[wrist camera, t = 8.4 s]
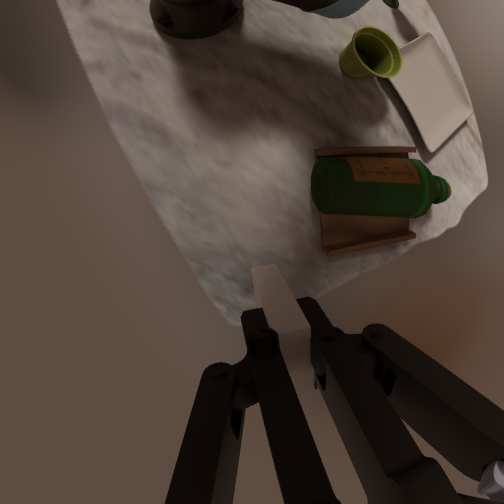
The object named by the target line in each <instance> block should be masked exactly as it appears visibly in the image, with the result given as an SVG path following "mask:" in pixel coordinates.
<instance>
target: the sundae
mask: <svg viewBox="0 0 504 504" xmlns="http://www.w3.org/2000/svg"><path fill="white" fill-rule="evenodd" d="M383 1H384V2H385V3H386V4H387V5H388V6H390V7H392V8H398V7H399V2H398V0H383Z"/></svg>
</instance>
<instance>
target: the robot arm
mask: <svg viewBox="0 0 504 504" xmlns="http://www.w3.org/2000/svg"><path fill="white" fill-rule="evenodd" d="M273 1H277V2H280V3H284V4H287V5H291V6H294V7H297V8H300V9H301V10H302V11H304V12H308V13H315V14H318V15H321V16H324V17H327V18H336V19H337V18H344V17H347V16H349V15H351V14H353V13H355V12H356V11H358V10H359V9H360V8H361V7H363V6H364V5H365V4H366V3H367V2H368V1H369V0H273ZM242 3H243V0H151V1H150V14H151V17H152V20H153V22H154V24H155V25H156V26H157V28H158V29H159V30H161V31H162V32H164V33H165V34H167V35H170V36H172V37H176V38H181V39H199V38H205V37H209V36H212V35H215V34H217V33H219V32H221V31H223V30H225V29H226V28H228V27H229V26H230V25H231V24H233V22H234V21H235V20H236V19H237V17H238V16H239V14H240V11H241V7H242ZM251 273H252V280H253V286H254V292H255V298H256V305H257V309H252V310H247V311H243V313H242V316H241V322H242V327H243V331H244V336H245V341H246V345H247V354H246V356H245V357H244V359H243V360H241V361H240V362H238V363H236V364H234V365H230V364H228V363H223V362H219V363H214V364H212V365H210V366H208V367H207V368H206V369H205V370H204V372H203V374H202V377H201V380H200V384H199V387H198V390H197V394H196V397H195V401H194V404H193V407H192V411H191V414H190V418H189V421H188V424H187V428H186V431H185V434H184V438H183V441H182V445H181V448H180V452H179V455H178V459H177V462H176V466H175V469H174V473H173V476H172V480H171V483H170V487H169V491H168V494H167V497H166V501H165V504H232V503H233V497H234V490H235V483H236V476H237V469H238V462H239V455H240V448H241V441H242V433H243V426H244V418H245V409H246V408H248V407H250V406H252V405H254V404H256V403H258V402H259V404H260V408H261V413H262V417H263V421H264V426H265V429H266V434H267V438H268V442H269V446H270V450H271V454H272V458H273V462H274V466H275V470H276V474H277V478H278V481H279V485H280V489H281V493H282V497H283V500H284V504H341V503H340V501H339V500H338V499H337V498H336V496H335V494H334V492H333V489H332V487H331V484H330V481H329V479H328V476H327V474H326V471H325V468H324V466H323V463H322V460H321V458H320V455H319V452H318V450H317V448H316V444H315V442H314V439H313V436H312V434H311V431H310V429H309V426H308V423H307V420H306V418H305V415H304V413H303V410H302V407H301V404H300V402H299V399H298V396H297V394H296V391H295V388H294V386H293V383H292V380H291V376H295V375H299V374H303V373H306V372H310V371H311V364H312V366H313V368H314V387H315V389H317V385H318V387H319V389H320V391H321V394H322V396H323V398H324V400H325V403H326V405H327V407H328V409H329V412H330V414H331V416H332V418H333V421H334V423H335V425H336V427H337V430H338V432H339V434H340V436H341V439H342V441H343V443H344V445H345V447H346V450H347V452H348V454H349V457H350V459H351V461H352V463H353V466H354V468H355V470H356V473H357V475H358V477H359V479H360V481H361V484H362V486H363V488H364V491H365V493H366V495H367V499H368V504H504V411H503V410H502V409H501V408H499V407H498V406H497V405H495V404H494V403H493V402H491V401H490V400H489V399H487V398H486V397H484V396H483V395H482V394H480V393H479V392H478V391H476V390H475V389H474V388H472V387H471V386H469V385H468V384H467V383H466V382H464V381H463V380H461V379H460V378H458V377H457V376H456V375H454V374H453V373H452V372H450V371H449V370H448V369H446V368H445V367H443V366H442V365H441V364H439V363H438V362H436V361H435V360H434V359H432V358H431V357H429V356H428V355H427V354H425V353H424V352H422V351H421V350H420V349H418V348H417V347H415V346H414V345H413V344H411V343H410V342H408V341H407V340H405V339H404V338H402V337H401V336H400V335H398V334H397V333H396V332H394V331H393V330H391V329H390V328H388V327H387V326H385V325H383V324H370V325H368V326H366V327H365V328H364V329H363V331H362V334H345V333H344V332H343V331H342V330H341V329H339V328H336V327H333V325H332V324H331V322H330V321H329V319H328V318H327V316H326V315H325V313H324V312H323V310H322V309H321V307H320V306H319V304H318V303H317V301H316V300H314V299H313V298H311V297H304V298H300V299H295V298H294V296H293V294H292V292H291V291H290V289H289V287H288V285H287V283H286V282H285V280H284V278H283V276H282V275H281V273H280V271H279V269H278V267H277V266H276V264H275V263H272V264H267V265H262V266H256V267H251ZM400 418H401V419H403V420H404V421H405V422H406V423H407V424H408V425H409V426H410V427H411V428H412V429H413V430H414V431H416V433H418V434H419V435H420V436H421V437H422V438H423V439H424V440H425V441H426V442H428V443H429V444H430V445H431V446H432V447H433V448H434V449H435V450H436V451H438V452H439V453H440V454H441V455H442V456H443V457H444V458H445V459H446V460H447V461H449V462H450V463H451V464H452V465H453V466H454V467H455V468H456V469H458V470H459V471H460V472H462V473H463V474H464V475H466V476H468V477H469V478H471V479H473V480H476V481H479V482H480V484H479V485H478V488H477V490H478V493H479V494H486V495H487V496H489V497H490V499H491V500H487V499H482V498H477V497H472V496H468V495H464V494H460V493H456V490H455V489H454V487H453V486H452V484H451V482H450V480H449V479H448V477H447V475H446V474H445V472H444V470H443V469H442V467H441V465H440V464H439V463H438V462H437V460H435V459H433V458H430V457H425V456H424V455H423V454H422V453H421V451H420V450H419V448H418V446H417V444H416V443H415V441H414V439H413V438H412V436H411V435H410V433H409V431H408V430H407V428H406V426H405V425H404V423H403V422H402V420H401V419H400Z"/></svg>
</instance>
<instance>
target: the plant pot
mask: <svg viewBox="0 0 504 504" xmlns="http://www.w3.org/2000/svg"><path fill="white" fill-rule="evenodd" d="M359 55H360V56H361V57H362V58H363V59H364V61H363V60H362V59H361V58H360V57H359ZM339 57H340V66H341V68H342V69H343V70H344V72H345V73H346V74H348V75H349V76H351V77H354V78H365V77H372V76H379V77H382V78H391V77H394V76H396V75H397V74H398V73H399V72H400V70H401V67H402V56H401V53H400V50H399V48H398V46H397V44H396V43H395V42H394V40H393V39H392V38H391V37H390V36H389V35H388V34H387V33H385V32H384V31H382V30H380V29H379V28H376V27H372V26H363V27H361V28H359V29H358V30H356V32H355V33H354V35H353V38H352V41H351V42H350V43H349V45H348V46H347V47H346V48H345V49H344V50H343V51H342V52H341V54H340V56H339Z"/></svg>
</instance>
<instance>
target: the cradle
mask: <svg viewBox="0 0 504 504" xmlns="http://www.w3.org/2000/svg"><path fill="white" fill-rule="evenodd" d="M408 152H416V147H398V146H380V147H344V148H326V149H315V158H316V162H317V160H318V159H319V157H382V158H405V159H408ZM320 219H321V237H322V251H323V252H324V253H325V254H326V255H328V256H334V255H339V254H344V253H348V252H353V251H358V250H363V249H368V248H372V247H377V246H382V245H386V244H391V243H396V242H400V241H405V240H409V239H414V238H416V233H414V232H412V231H410V230H409V218H403V217H385V216H363V215H333V214H323V213H321V212H320Z"/></svg>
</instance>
